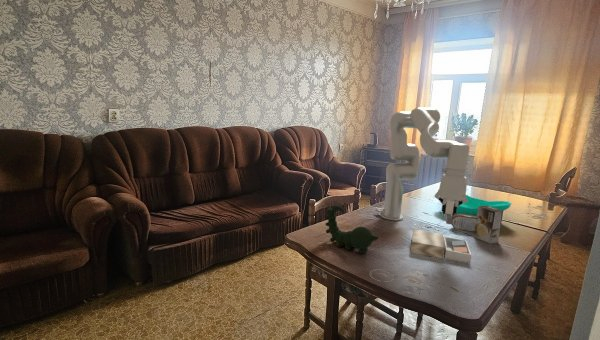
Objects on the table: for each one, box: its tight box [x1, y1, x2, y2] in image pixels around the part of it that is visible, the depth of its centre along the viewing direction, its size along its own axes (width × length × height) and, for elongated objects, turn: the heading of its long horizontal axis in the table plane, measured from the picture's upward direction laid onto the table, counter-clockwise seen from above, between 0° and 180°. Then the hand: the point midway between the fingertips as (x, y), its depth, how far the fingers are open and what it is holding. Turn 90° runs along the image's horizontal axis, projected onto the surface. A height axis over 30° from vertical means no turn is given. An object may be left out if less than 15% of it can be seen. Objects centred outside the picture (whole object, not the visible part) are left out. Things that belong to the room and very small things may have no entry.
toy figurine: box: [324, 205, 379, 255], centre depth 135 cm, size 9×19×25 cm
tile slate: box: [452, 239, 466, 250], centre depth 139 cm, size 5×5×2 cm
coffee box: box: [473, 205, 504, 244], centre depth 153 cm, size 9×6×16 cm
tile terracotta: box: [453, 247, 468, 254], centre depth 132 cm, size 5×5×2 cm
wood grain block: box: [410, 228, 445, 259], centre depth 140 cm, size 13×16×5 cm
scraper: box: [443, 199, 455, 226], centre depth 135 cm, size 3×16×8 cm, turn 159°
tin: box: [451, 213, 477, 233], centre depth 164 cm, size 15×3×8 cm, turn 71°
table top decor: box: [437, 188, 512, 216], centre depth 186 cm, size 40×28×13 cm
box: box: [443, 235, 472, 265], centre depth 136 cm, size 10×16×4 cm, turn 159°
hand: (448, 213), depth 135 cm, fingers closed on scraper, 3 cm apart
